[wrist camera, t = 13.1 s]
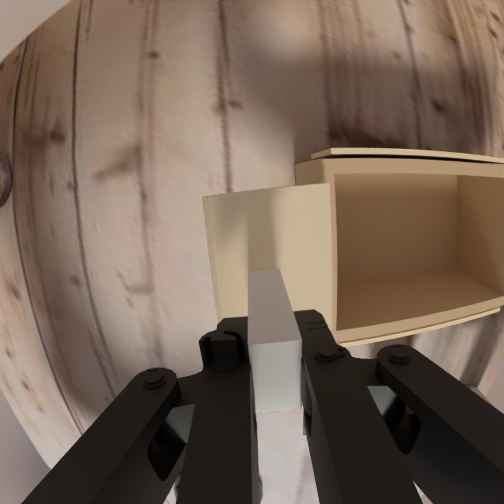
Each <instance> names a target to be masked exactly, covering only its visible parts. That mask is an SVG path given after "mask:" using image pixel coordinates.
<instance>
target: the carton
mask: <svg viewBox="0 0 504 504" xmlns="http://www.w3.org/2000/svg"><path fill="white" fill-rule="evenodd" d="M329 158H340V159H329ZM391 158H400V159H391ZM311 159H316V160H311V161H307V162H303V163H298V164H294V171H295V184H296V185H307V184H318V183H329V186H330V205H331V229H332V331H331V333H332V335H333V337H334V339H335V341H336V343H337V344H338V345H341V346H343V347H350V346H356V345H362V344H368V343H373V342H379V341H384V340H389V339H394V338H399V337H404V336H408V335H413V334H418V333H422V332H426V331H430V330H435V329H439V328H443V327H447V326H450V325H454V324H458V323H462V322H465V321H469V320H472V319H476V318H479V317H483V316H486V315H489V314H492V313H495V312H499V311H500V307H499V306H502V305H504V166H496V165H487V164H478V163H496V164H504V159H503V158H496V157H489V156H482V155H473V154H464V153H454V152H443V151H430V150H414V149H391V148H330V149H326V150H323V151H320V152H317V153H314V154H311ZM422 159H426V160H422ZM440 160H443V161H440ZM455 161H457V162H455ZM467 162H469V163H467Z"/></svg>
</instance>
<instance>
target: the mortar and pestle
mask: <svg viewBox="0 0 504 504" xmlns="http://www.w3.org/2000/svg"><path fill="white" fill-rule="evenodd" d="M10 190H11V170H10V166H9V163H8V160H7V157H6V155H3V154H1V153H0V207H2V206H3V205H4V203H5V202H6V200H7V198H8V196H9V193H10Z"/></svg>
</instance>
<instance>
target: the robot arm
mask: <svg viewBox="0 0 504 504" xmlns="http://www.w3.org/2000/svg"><path fill="white" fill-rule="evenodd" d="M199 346H200V351H201V356H202V361H203V370H202V371H201V372H199V373H197V374H194V375H191V376H187V377H182V378H177V377H176V374H175V373H174V372H173V371H172V370H169V369H166V368H151V369H147V370H145V371H143V372H140V373H139V374H138V375H137V376H135V377H134V378H133V379H132V381H131V382H130V383H129V384H128V385H127V386H126V387H125V388H124V389H123V391H122V392H121V393H120V394H119V395H118V396H117V397H116V398H115V399H114V401H113V402H112V403H111V404H110V405H109V406H108V407H107V408H106V409H105V410H104V412H103V413H102V414H101V415H100V416H99V417H98V418H97V419H96V421H95V422H94V423H93V424H92V425H91V426H90V427H89V428H88V429H87V431H86V432H85V433H84V434H83V435H82V436H81V437H80V438H79V439H78V441H77V442H76V443H75V444H74V445H73V446H72V447H71V448H70V449H69V451H68V452H67V453H66V454H65V455H64V456H63V457H62V458H61V459H60V461H59V462H58V463H57V464H56V465H55V466H54V467H53V468H52V470H51V471H50V472H49V473H48V474H47V475H46V477H44V478H43V480H42V481H41V482H40V483H39V484H38V485H37V487H35V489H34V490H33V491H32V492H31V493H30V494H29V495H28V496H27V498H26V499H25V500H24V501H23V502H22V503H21V504H163V503H164V501H165V499H166V497H167V495H168V494H169V492H170V490H171V488H172V486H173V484H174V483H175V486H174V492H175V496H176V504H260V503H261V501H262V497H263V491H262V484H261V482H260V481H259V467H258V440H257V421H256V413H268V412H279V411H289V410H298V409H302V403H303V408H304V417H303V435H306V436H307V441H308V446H309V451H310V456H311V461H312V466H313V471H314V476H315V481H316V486H317V492H318V497H319V502H320V504H423V503H422V500H421V498H420V496H419V494H418V491H417V489H416V487H415V485H414V482H415V484H416V485H417V486H418V487H419V488H420V489H421V490H422V492H423V493H424V494H425V495H426V496H427V497H428V498H429V499H430V501H431V502H432V503H433V504H504V414H503V413H501V412H500V411H498V409H496V408H495V407H494V406H492V405H491V404H489V403H488V402H487V401H485V400H484V399H483V398H481V397H480V396H479V395H477V394H476V393H475V392H473V391H472V390H471V389H469V388H468V387H467V386H465V385H464V384H462V383H461V382H460V381H458V380H457V379H456V378H454V377H453V376H452V375H450V374H449V373H447V372H446V371H445V370H443V369H442V368H441V367H439V366H438V365H436V364H435V363H434V362H432V361H431V360H429V359H428V358H427V357H425V356H424V355H423V354H421V353H420V352H418V351H417V350H416V349H414V348H412V347H410V346H406V345H400V344H398V345H397V344H396V345H390V346H386V347H384V348H382V349H380V351H379V352H378V354H377V359H361V358H354V357H352V356H351V354H350V352H349V351H348V350H347V349H346V348H345V347H343V346H341V345H338V344H337V343H336V341H335V339H334V337H333V335H332V333H331V331H330V329H329V328H328V325H327V323H326V322H325V319H324V317H323V315H322V314H321V313H319V312H318V311H316V310H315V309H311V310H301V311H293V309H292V306H291V303H290V300H289V297H288V294H287V291H286V287H285V284H284V281H283V278H282V275H281V272H280V269H269V270H258V271H248V316H244V317H230V318H223V319H222V320H221V321H220V322H219V323H218V324H217V329H216V330H214V331H211V332H208V333H207V334H205V335H204V336H202V337H201V339H200V340H199ZM408 406H409V407H410V408H411V409H412V410H413V411H414V412H413V411H412V410H410V409H409V408H408ZM181 469H182V472H181V473H180V471H181ZM413 481H414V482H413Z"/></svg>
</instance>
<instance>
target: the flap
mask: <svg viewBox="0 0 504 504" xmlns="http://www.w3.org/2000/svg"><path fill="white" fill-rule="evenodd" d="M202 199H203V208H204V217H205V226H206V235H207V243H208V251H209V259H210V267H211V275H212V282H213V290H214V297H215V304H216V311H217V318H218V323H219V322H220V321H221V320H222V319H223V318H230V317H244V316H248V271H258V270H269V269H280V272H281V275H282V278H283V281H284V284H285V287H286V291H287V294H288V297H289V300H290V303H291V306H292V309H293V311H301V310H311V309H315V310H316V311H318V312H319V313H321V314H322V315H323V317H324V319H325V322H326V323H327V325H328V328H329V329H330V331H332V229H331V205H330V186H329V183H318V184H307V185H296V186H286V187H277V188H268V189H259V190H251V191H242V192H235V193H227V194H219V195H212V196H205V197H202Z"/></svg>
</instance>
